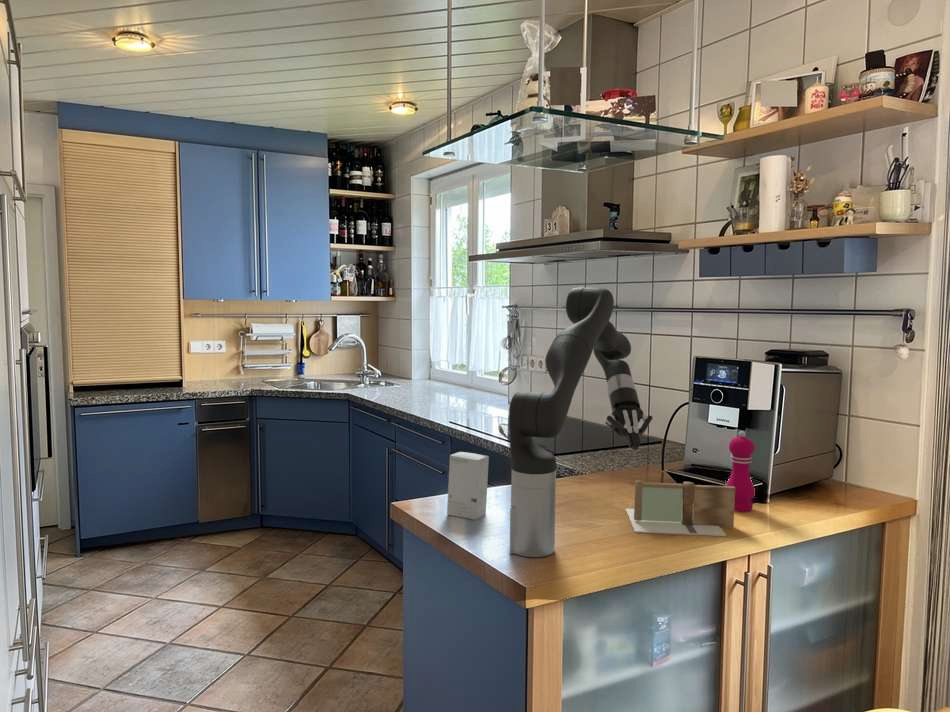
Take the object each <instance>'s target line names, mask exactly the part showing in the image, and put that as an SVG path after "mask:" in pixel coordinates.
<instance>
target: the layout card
mask: <svg viewBox="0 0 950 712" xmlns="http://www.w3.org/2000/svg"><path fill="white" fill-rule="evenodd" d="M625 512H626V515H627V516H629V517H628V519H629V522H630V521H631V522H630V524H631V526H632V528H633V531H634V533H637V534H638V533H640V534H643V533H644V534H664V535H665V534H667V535H690V536H711V537H712V536H714V537H726V536H727V534H726V533H725V532H724V531H723V529H722V527H719V525H699V524H692V525H685V524H682V522H671V521H646V520H641V521H636V520H634V508H625Z"/></svg>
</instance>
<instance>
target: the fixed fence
mask: <svg viewBox="0 0 950 712" xmlns="http://www.w3.org/2000/svg"><path fill="white" fill-rule="evenodd" d="M682 484H683V498H682V524H685V525H692V524H699V525H719V527H720V528H734V527H735V526H734V523H735V511H734V503H735V487H734V486H726V485H706V484H705V485H702V484H695V483H694V482H692V481H683V482H682Z"/></svg>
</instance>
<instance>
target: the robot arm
mask: <svg viewBox="0 0 950 712" xmlns="http://www.w3.org/2000/svg"><path fill="white" fill-rule="evenodd" d="M614 302H615V300H614V296H613V293H612V292H611V291H610V290H609V289H606V288H602V287H589V286H587V287H586V286H584V287H582V286H580V287H574V288H571V290H570V291H569V292H568V294H567V297H566V301H565V312H566V315H567V317H568V320H569V321H570V322H571V323H572V325H570V326H568V327H567V328H564V329H563V330H562V331H560V332H559V333H558V334H557V335H556V336H555V338H553V340H552V342H551V345H550V346H549V349H548V350H547V353H546V355H545V361H544V362H545V368H546V370H547V373H548V375H549V377H550V379H551V381H552V383H553V386H554V387H553V389H552V390H551V391H550V392H541V391H540V392H539V391H528V390H527V391H525V390H523V391H522V390H520V391H517V392H516V393H514V394H513V396H512V398H511V399H510V404H509V408H508V409H509V410H508V411H509V412H508V426H509V427H508V428H509V454H510V460H511V470H510V471H511V473H510V475H511V476H510V477H511V478H510V479H511V481H510V482H511V483H510V484H511V486H510V508H509V509H510V510H509V512H510V513H509V514H510V515H509V554H510V555H511V554H512V555H517V556H522V557H527V558H542V557H548V556H551V555H553V554H554V553H555V544H556V533H555V531H556V483H557V482H556V481H557V458H556V456H555V454H553V453H551V452H549V451H548V450H545V449H544V448H542V447H540V446H539V445H538V444H537V443H536V442H535V440H534V439H533V438H543V439H552V438H556V437H557V436H558V435H559V434H560V433H561V431H562V429H563V428H564V425H565V422H566V420H567V416H568V414H569V409H570V407H571V404H572V400H573V397H574V394H575V391H576V390H577V387H578V385H579V381H580V380H581V378H582V376H583V373H584V371H585V369H587V366H588V363H589V361H590V359H591V356H592V354H594V356H595V358H596V360H597V362H598V363H599V364H600V366H601V367H602V370H603V372H604V375H605V380H606V384H607V385H606V386H607V394H608V399H609V401H610V406H611V415H607V416H606V419H605V422H604V423H605V425H606V426H608V428H610V429H611V430H613V432H615V433H616V434H617V435H618V436H620V437H625V438H626V441H627V446H628V447H629V448H630V449H631V450H638V449H639V448H640V446H641V439H640V437H642V436H644V433H645V432H646V430H647V429H648V427H649V426H650V424H651V422H652V420H653V415H646V414H645V413H644V411H643V410H642V408H641V404H640V400H639V396H638V393H637V388H636V385H635V382H634V379H633V376H632V373H631V368H630V366H629V364H628V363H627V361H625V360H623V359H625V358H627V357H628V356H630V354H631V352H632V345H631V342H630V340H629V339H628V338H627V336H626V335H624V333H622V332H620V331H618V330H617V329H616V328H615V326H614V324H613V323H612V322H611V321H610V320H611V317H612V314H613V312H614V304H615V303H614ZM641 420H642V424H641V426H640V428H639V426H638V425H639V423H640V422H641Z"/></svg>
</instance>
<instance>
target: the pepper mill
mask: <svg viewBox="0 0 950 712" xmlns="http://www.w3.org/2000/svg"><path fill="white" fill-rule="evenodd" d="M737 434H738V436H735V437H733V438H732V439H731V440H730V441H729V444H728V449H729V452H730V453H731V454H730V460H729V461H731V462H732V463H731V464H732V469H731V473H730V476H729V477H730V478H729V477H728V478H729V479H728V481H727V483H726V482H725V486H734V487H735V503H734V512H738V513H739V512H740V513H748V512H752V511H753V507H754V506H753V502H752V500H753V499H754V498H755V497H754V496H755V488H754V485H753V483H752V480H751V478H752V477H751V475H750V465H751V464H752V459H753V458H752V454H753V453H754V452H755V445H754V442H753V440H752V439H751V438H748V437H746V435H747V434H746V431H744V430H740V431H738V433H737Z"/></svg>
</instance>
